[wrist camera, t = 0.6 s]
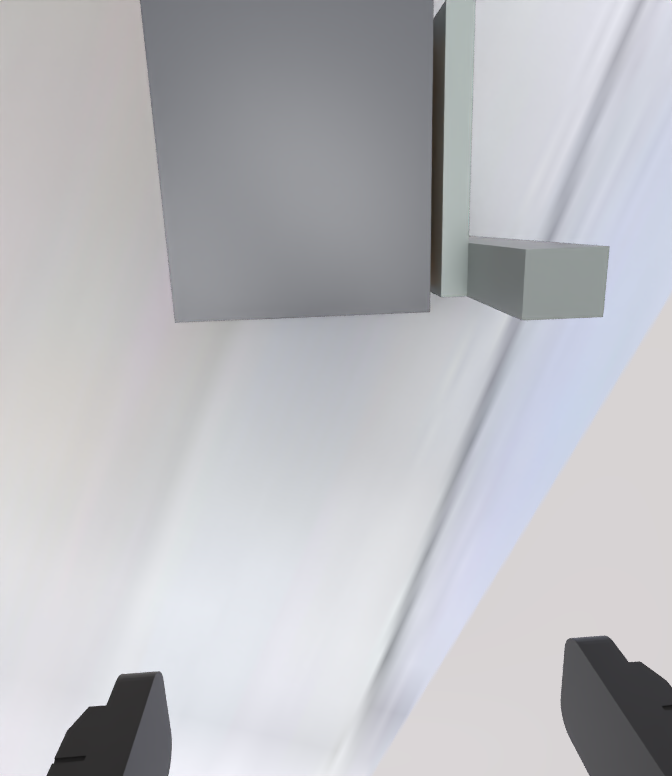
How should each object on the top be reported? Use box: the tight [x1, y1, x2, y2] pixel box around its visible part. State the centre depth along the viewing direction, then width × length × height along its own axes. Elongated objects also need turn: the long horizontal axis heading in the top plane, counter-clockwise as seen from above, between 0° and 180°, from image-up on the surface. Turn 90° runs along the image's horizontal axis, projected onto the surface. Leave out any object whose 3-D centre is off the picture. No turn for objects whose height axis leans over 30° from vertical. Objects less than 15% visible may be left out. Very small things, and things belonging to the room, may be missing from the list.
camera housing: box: [140, 0, 433, 323], centre depth 23 cm, size 22×10×11 cm, turn 2°
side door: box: [430, 0, 610, 320], centre depth 23 cm, size 10×3×15 cm, turn 2°
